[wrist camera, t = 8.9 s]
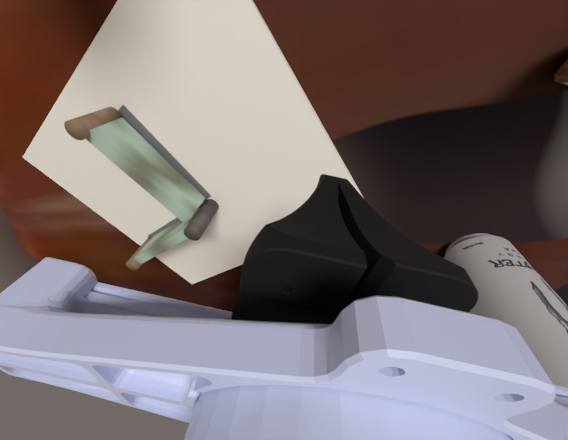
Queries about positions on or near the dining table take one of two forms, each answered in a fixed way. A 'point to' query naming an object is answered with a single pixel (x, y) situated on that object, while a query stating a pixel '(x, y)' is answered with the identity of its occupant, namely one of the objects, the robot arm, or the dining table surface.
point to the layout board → (192, 125)
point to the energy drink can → (516, 298)
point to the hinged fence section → (137, 159)
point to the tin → (562, 74)
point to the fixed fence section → (175, 234)
